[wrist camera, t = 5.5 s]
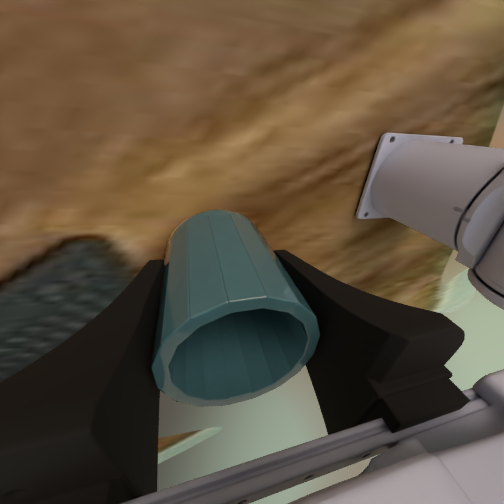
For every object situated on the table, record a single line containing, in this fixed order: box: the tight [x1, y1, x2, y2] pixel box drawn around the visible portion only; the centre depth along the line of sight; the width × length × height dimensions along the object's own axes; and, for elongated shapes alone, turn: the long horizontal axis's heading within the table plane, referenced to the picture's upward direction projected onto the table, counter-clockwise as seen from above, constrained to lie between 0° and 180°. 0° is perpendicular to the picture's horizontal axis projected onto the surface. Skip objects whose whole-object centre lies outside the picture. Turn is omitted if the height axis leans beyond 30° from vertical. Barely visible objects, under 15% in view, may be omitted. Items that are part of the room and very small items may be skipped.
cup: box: [151, 210, 320, 407], centre depth 10 cm, size 5×5×6 cm
